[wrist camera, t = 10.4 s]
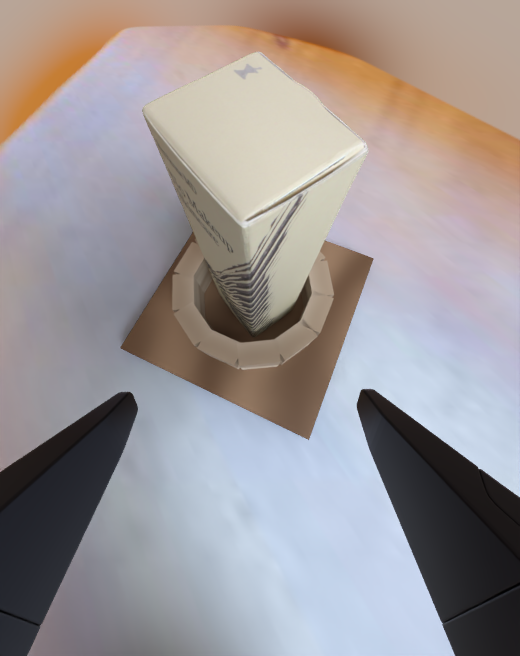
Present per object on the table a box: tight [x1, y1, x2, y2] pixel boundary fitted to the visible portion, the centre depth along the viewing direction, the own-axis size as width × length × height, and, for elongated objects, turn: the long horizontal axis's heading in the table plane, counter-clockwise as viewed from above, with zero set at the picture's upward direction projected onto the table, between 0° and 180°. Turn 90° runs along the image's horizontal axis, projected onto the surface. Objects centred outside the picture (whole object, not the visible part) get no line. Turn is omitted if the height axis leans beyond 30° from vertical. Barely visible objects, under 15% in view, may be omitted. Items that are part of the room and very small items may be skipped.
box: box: [142, 52, 368, 338], centre depth 12 cm, size 5×4×13 cm
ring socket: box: [120, 232, 374, 440], centre depth 17 cm, size 16×16×4 cm
